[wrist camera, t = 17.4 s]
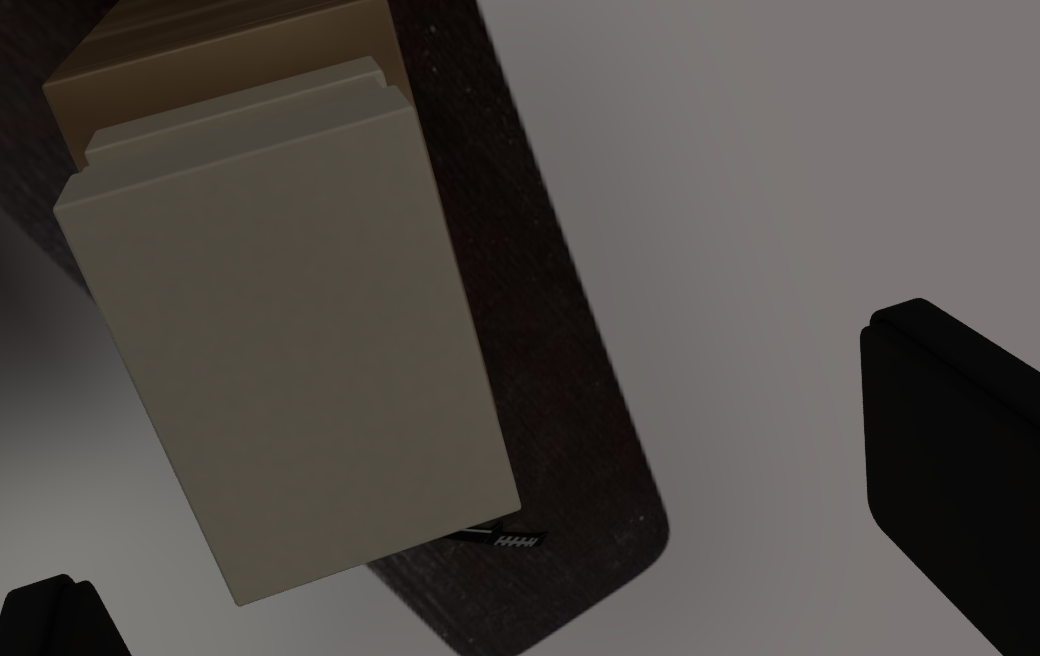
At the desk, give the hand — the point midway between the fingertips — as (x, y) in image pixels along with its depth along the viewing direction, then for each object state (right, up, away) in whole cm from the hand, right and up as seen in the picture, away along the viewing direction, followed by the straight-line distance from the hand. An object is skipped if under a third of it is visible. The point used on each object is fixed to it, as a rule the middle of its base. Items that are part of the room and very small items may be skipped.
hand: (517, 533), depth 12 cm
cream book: (-5, +2, +10) cm, 11 cm away
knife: (-4, -7, +43) cm, 44 cm away
